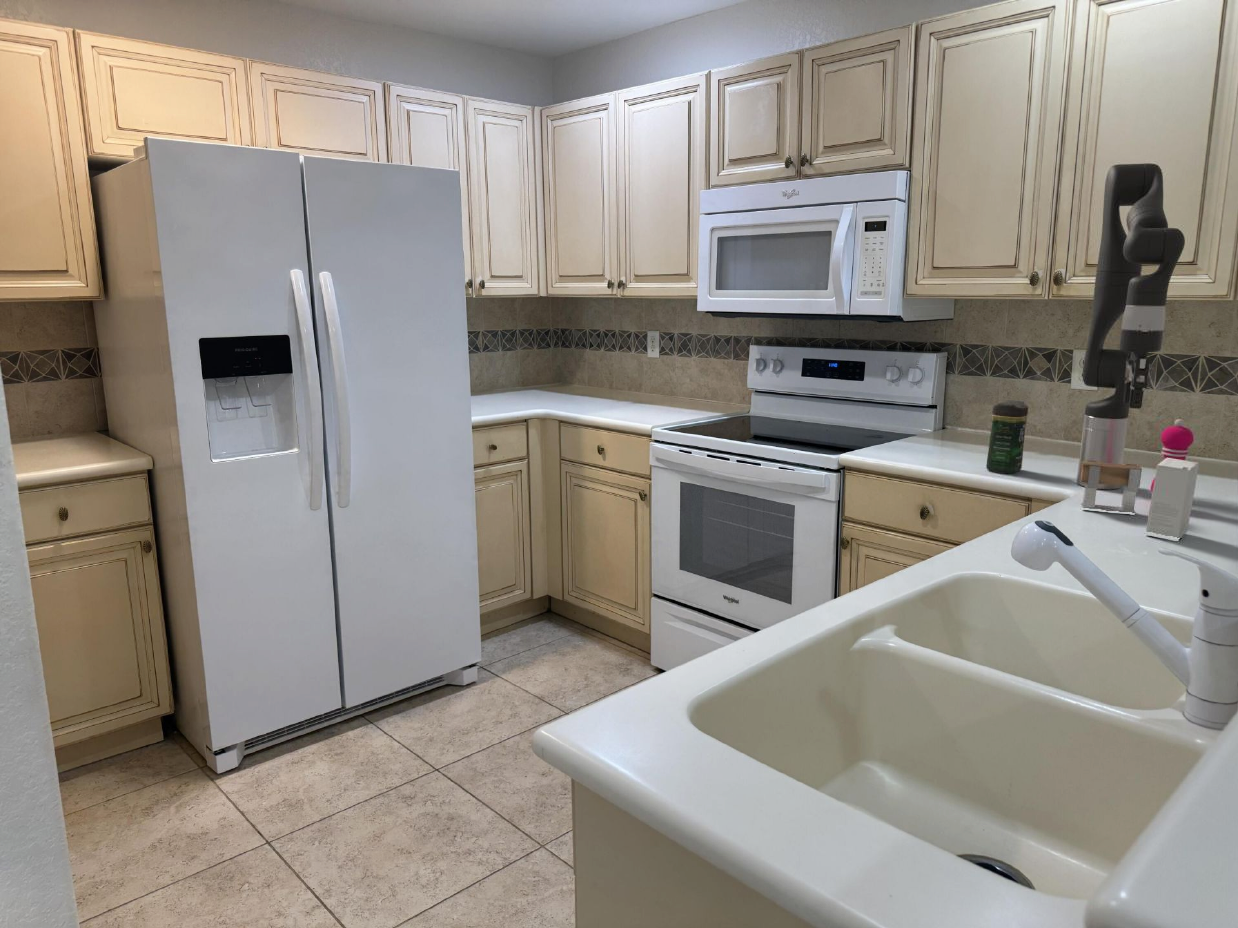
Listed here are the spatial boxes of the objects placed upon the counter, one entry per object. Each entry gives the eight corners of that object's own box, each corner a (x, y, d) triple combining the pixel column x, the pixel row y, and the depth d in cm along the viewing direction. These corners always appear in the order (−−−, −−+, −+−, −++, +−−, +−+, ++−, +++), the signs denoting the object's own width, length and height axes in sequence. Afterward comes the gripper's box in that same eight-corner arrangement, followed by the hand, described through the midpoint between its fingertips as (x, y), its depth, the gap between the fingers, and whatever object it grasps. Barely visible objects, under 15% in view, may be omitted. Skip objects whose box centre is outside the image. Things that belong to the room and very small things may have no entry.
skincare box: (1154, 528, 176) (1164, 456, 173) (1189, 534, 172) (1200, 461, 169) (1144, 536, 170) (1154, 463, 167) (1180, 543, 166) (1191, 467, 163)
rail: (1079, 478, 191) (1082, 461, 190) (1137, 483, 187) (1139, 465, 186) (1081, 482, 188) (1083, 464, 187) (1139, 487, 184) (1141, 468, 183)
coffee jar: (1013, 475, 222) (1020, 404, 218) (982, 471, 227) (988, 401, 224) (1025, 469, 229) (1033, 400, 225) (995, 465, 234) (1001, 397, 231)
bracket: (1080, 505, 194) (1085, 460, 191) (1131, 510, 190) (1137, 464, 187) (1083, 512, 187) (1088, 466, 185) (1135, 517, 184) (1142, 470, 181)
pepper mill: (1150, 502, 196) (1163, 415, 192) (1188, 507, 192) (1201, 418, 188) (1145, 508, 191) (1157, 419, 187) (1183, 514, 186) (1197, 423, 182)
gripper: (1117, 325, 186) (1108, 400, 190) (1125, 329, 174) (1115, 408, 177) (1158, 326, 183) (1147, 402, 187) (1169, 330, 171) (1158, 411, 174)
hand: (1132, 405), depth 182 cm, fingers open, 8 cm apart
